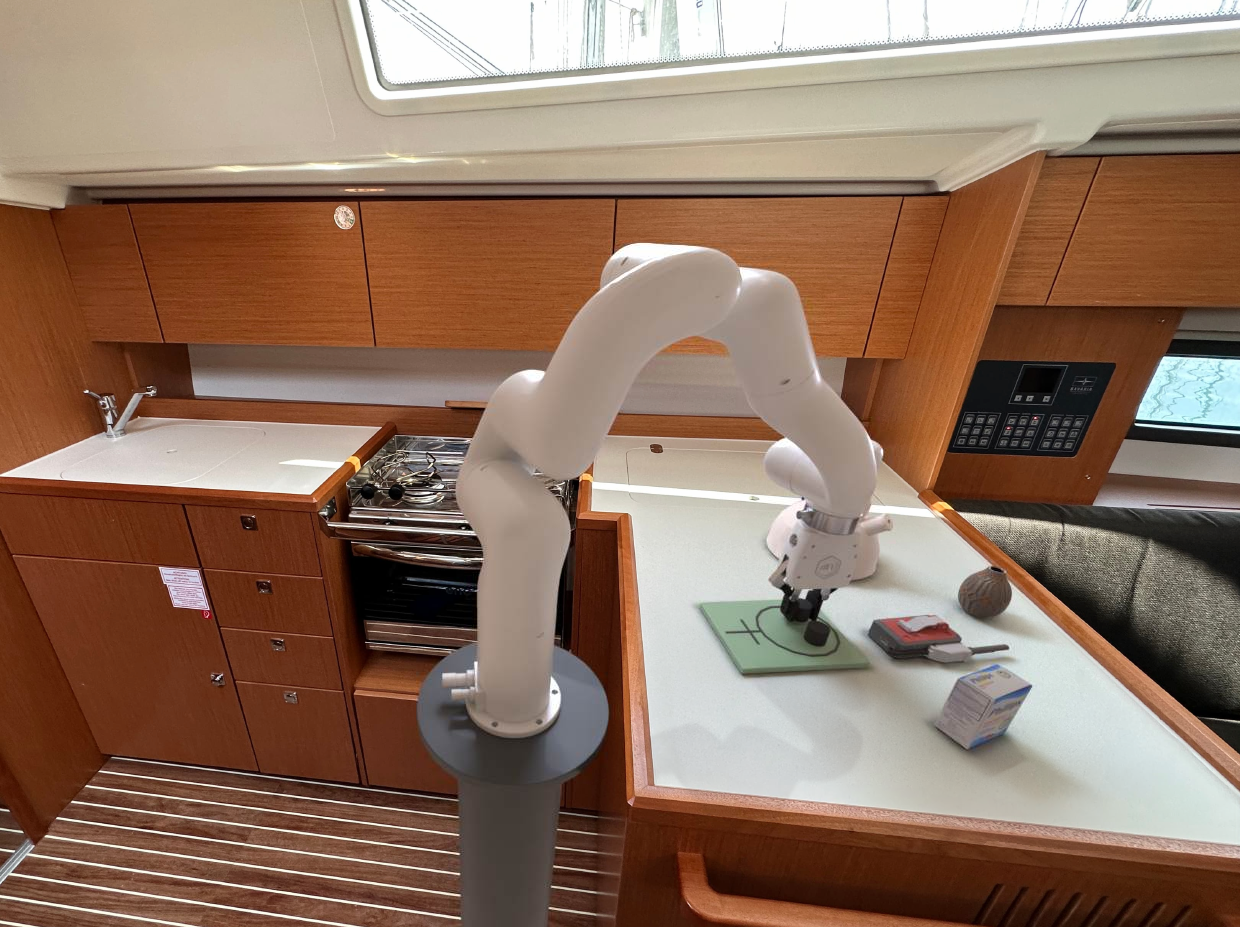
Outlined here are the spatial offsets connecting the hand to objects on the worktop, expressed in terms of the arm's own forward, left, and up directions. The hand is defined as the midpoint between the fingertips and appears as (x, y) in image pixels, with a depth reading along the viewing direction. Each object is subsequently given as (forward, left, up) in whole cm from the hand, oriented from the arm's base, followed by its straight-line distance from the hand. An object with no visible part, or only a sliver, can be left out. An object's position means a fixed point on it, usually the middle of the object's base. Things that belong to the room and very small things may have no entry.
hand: (797, 615), depth 92 cm
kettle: (+18, +22, -2) cm, 28 cm away
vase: (+35, +2, -2) cm, 35 cm away
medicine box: (+12, -22, -2) cm, 25 cm away
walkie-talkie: (+20, -6, -2) cm, 21 cm away
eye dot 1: (0, 0, 0) cm, 0 cm away
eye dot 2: (0, -5, -1) cm, 5 cm away
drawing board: (-4, -2, -2) cm, 5 cm away
